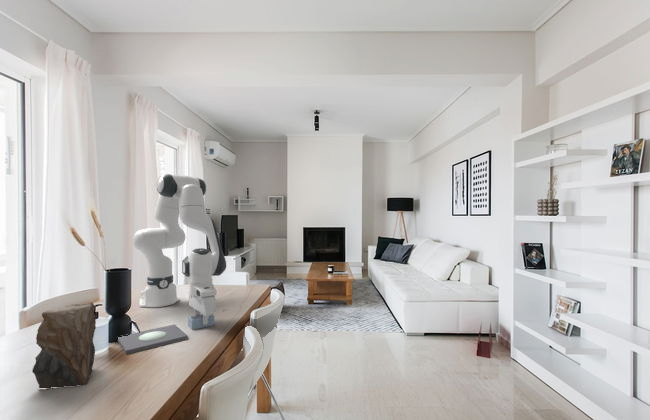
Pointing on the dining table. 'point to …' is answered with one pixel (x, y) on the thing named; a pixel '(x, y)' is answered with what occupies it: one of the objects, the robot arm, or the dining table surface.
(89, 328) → the brown rock
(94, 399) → the dining table surface
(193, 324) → the phone
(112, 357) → the dining table surface
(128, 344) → the charging mat
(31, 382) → the dining table surface
